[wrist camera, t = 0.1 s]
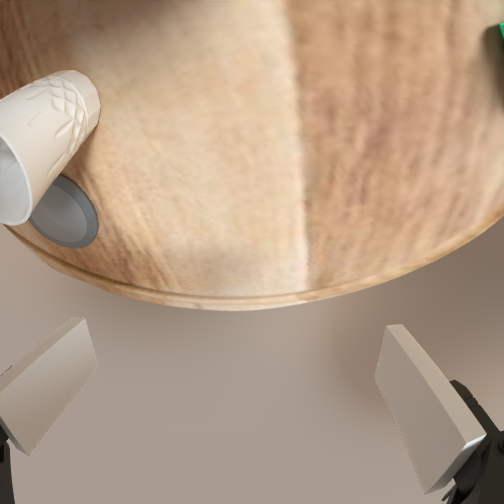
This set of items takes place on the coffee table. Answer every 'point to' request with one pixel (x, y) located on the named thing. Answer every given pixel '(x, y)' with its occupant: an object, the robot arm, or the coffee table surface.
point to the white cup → (41, 137)
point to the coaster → (65, 214)
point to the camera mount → (502, 28)
